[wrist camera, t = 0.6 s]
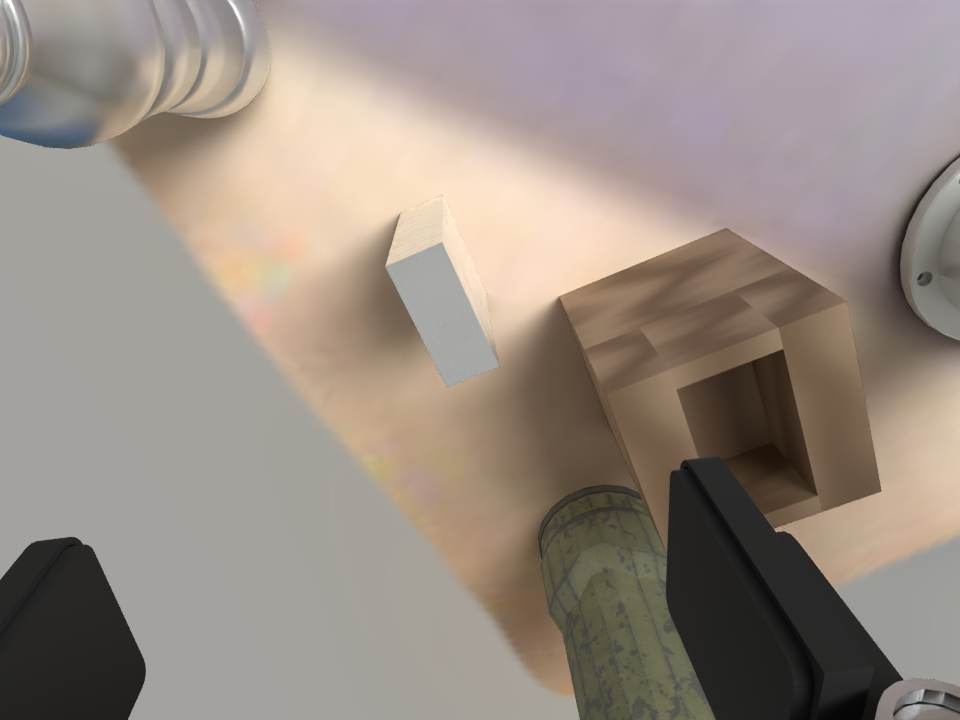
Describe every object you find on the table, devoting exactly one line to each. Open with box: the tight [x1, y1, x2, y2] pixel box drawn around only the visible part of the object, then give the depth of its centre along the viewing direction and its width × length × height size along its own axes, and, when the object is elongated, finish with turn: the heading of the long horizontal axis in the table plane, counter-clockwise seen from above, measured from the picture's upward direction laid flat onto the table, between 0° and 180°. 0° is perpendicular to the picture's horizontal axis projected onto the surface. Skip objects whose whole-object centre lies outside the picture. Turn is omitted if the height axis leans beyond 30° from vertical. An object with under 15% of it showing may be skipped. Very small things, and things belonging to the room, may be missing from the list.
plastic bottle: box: [0, 0, 271, 149], centre depth 22 cm, size 6×7×20 cm
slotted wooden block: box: [559, 228, 881, 554], centre depth 33 cm, size 10×10×12 cm
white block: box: [385, 194, 499, 387], centre depth 31 cm, size 2×6×10 cm, turn 23°
